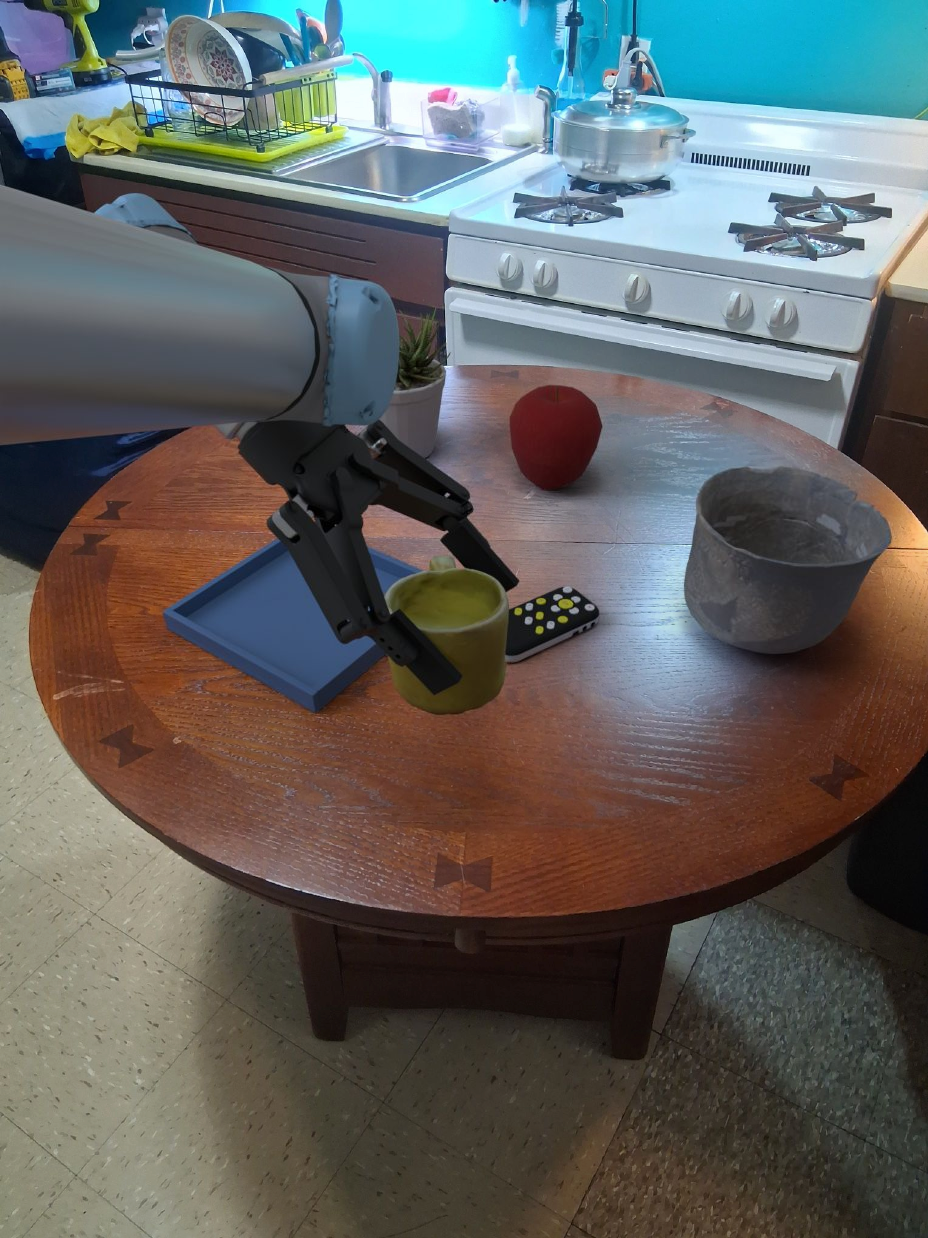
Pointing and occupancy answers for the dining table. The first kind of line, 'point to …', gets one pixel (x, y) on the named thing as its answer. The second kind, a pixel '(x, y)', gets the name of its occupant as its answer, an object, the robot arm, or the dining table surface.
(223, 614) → the blue tray
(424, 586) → the mug
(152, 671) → the dining table surface
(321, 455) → the robot arm
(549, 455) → the apple
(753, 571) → the grey stone bowl
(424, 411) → the potted plant
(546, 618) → the remote control
